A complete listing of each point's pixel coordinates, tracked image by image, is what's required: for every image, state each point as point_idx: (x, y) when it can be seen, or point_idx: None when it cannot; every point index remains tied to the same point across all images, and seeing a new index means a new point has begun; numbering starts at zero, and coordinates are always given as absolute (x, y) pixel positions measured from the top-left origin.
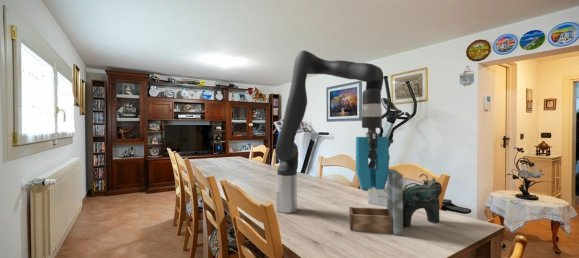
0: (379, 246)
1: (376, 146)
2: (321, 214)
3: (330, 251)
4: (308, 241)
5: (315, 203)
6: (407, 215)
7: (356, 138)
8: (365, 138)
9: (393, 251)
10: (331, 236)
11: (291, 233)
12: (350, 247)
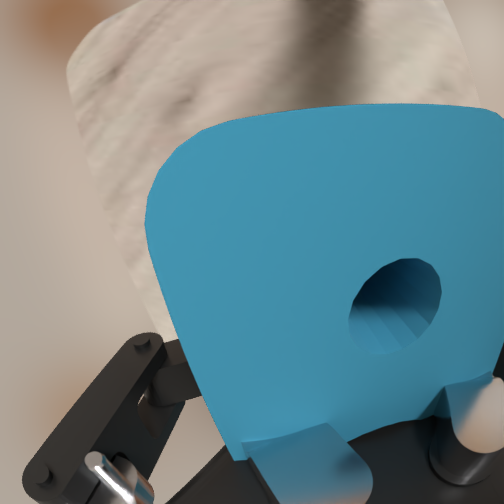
0: (134, 216)
1: (144, 406)
2: (328, 41)
3: (80, 118)
4: (114, 57)
5: (421, 31)
6: None
7: (305, 114)
8: (208, 383)
9: (122, 246)
10: (155, 95)
11: (151, 7)
12: (108, 153)
